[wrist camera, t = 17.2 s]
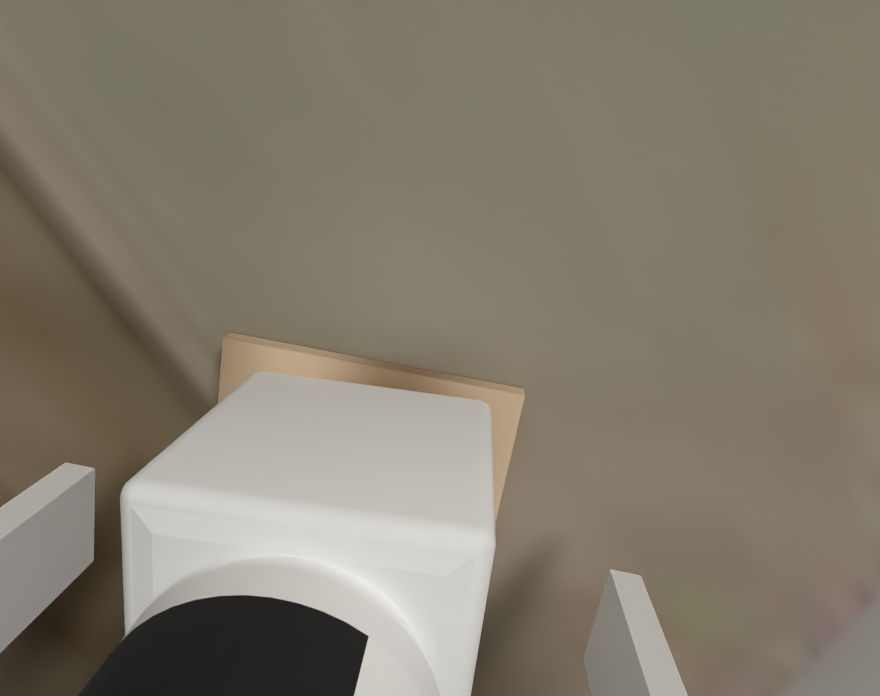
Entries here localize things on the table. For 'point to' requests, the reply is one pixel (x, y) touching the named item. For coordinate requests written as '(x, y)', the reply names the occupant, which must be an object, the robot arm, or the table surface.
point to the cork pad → (375, 384)
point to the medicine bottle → (309, 547)
